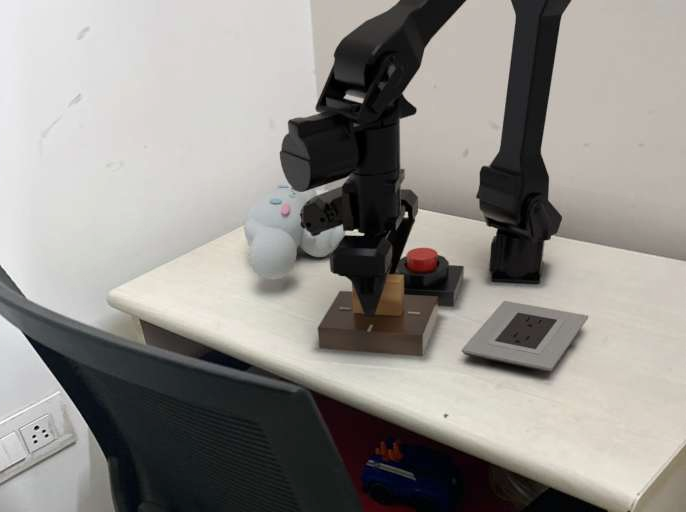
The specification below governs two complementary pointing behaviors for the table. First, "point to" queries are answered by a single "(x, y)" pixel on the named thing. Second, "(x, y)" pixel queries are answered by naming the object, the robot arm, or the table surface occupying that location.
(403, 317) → the panel
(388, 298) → the knob
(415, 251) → the button
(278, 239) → the toy
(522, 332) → the electrical outlet
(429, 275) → the button box
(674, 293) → the table surface
